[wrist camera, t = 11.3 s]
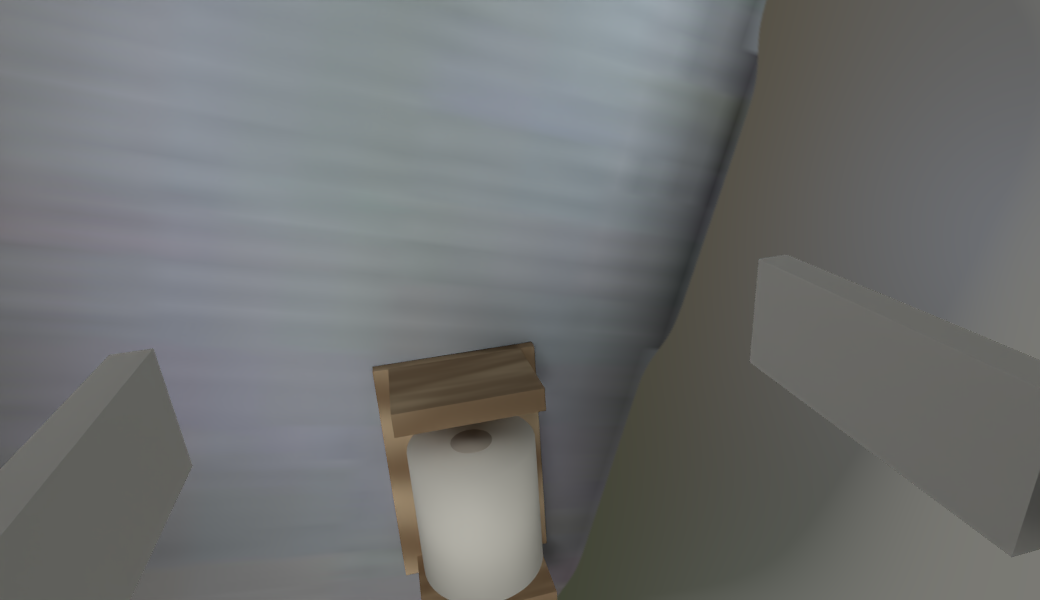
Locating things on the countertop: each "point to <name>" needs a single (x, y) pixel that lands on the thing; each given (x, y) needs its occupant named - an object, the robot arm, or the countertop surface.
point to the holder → (451, 403)
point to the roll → (478, 508)
